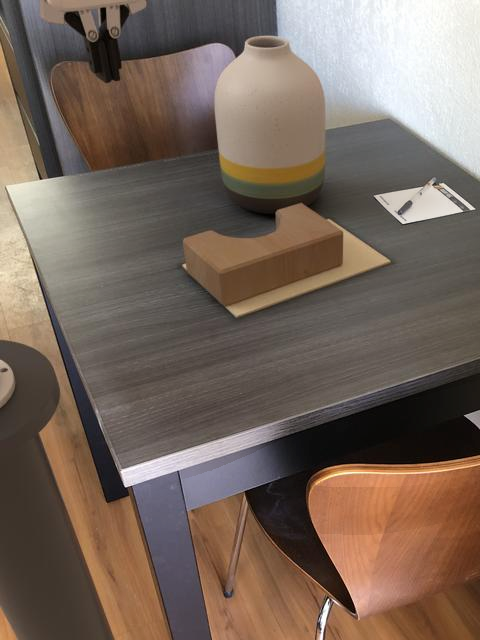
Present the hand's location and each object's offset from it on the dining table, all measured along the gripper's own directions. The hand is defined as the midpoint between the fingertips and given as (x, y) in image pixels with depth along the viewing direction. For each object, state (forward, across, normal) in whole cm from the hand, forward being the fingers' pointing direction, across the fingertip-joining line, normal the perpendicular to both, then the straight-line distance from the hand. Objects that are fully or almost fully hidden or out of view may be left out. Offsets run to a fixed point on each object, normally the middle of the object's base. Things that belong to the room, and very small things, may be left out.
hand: (107, 78), depth 78 cm
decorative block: (+26, +8, 0) cm, 27 cm away
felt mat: (+29, +22, 0) cm, 36 cm away
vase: (+29, +31, +19) cm, 47 cm away
